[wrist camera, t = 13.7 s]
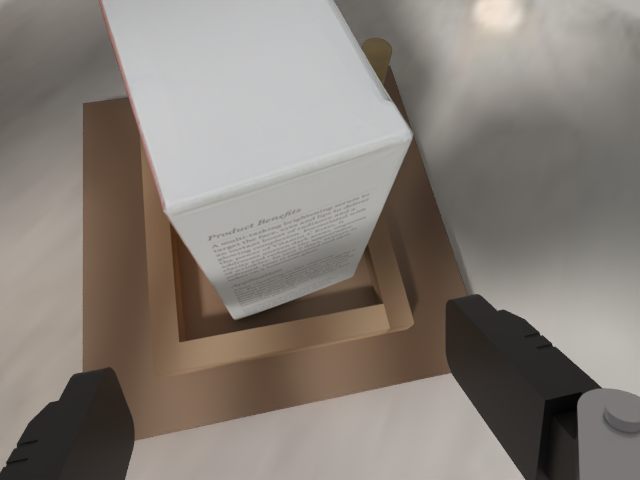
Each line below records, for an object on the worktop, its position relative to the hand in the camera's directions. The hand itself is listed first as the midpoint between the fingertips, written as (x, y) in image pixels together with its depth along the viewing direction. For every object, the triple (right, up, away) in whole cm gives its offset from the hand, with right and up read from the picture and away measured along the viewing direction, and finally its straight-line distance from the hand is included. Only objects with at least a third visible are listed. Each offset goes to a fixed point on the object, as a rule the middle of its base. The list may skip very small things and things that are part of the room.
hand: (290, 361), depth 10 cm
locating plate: (-2, +3, +10) cm, 11 cm away
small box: (-2, +4, +9) cm, 10 cm away
